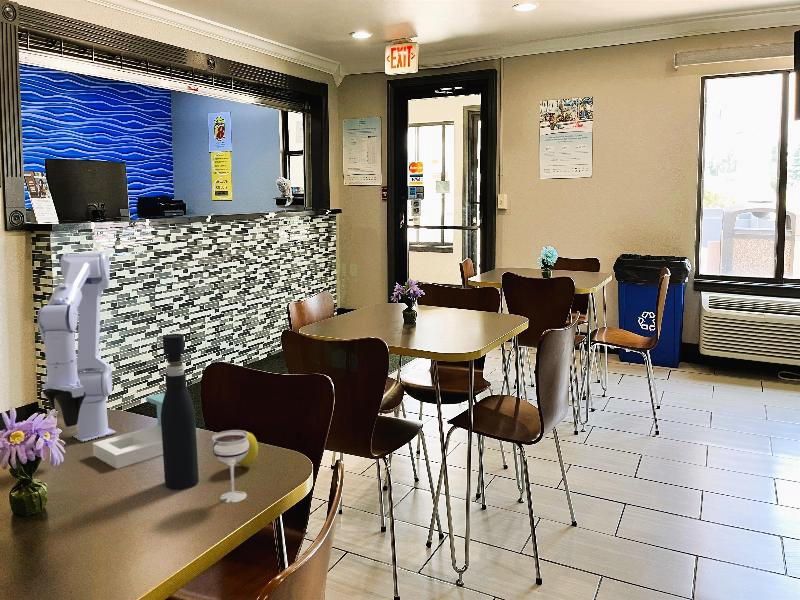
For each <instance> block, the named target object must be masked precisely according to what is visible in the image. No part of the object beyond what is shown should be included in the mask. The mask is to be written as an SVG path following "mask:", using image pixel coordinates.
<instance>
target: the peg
mask: <svg viewBox="0 0 800 600" xmlns="http://www.w3.org/2000/svg"><path fill="white" fill-rule="evenodd" d="M54 404H55V410H57V411H58V414H57V426H56V428H57V427H58V428H59V429H61V430H62V432H61V433H60V435H59V437H58V438H64V439H65V438H70V437H72V436H74V435H77V434H78V424H77V425H74V426H70V427H66V425H65V423H64V419H63V414H62V411H61V408H60V405H59V404H58V402H57V400H56V399H54Z"/></svg>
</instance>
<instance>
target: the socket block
mask: <svg viewBox="0 0 800 600" xmlns="http://www.w3.org/2000/svg"><path fill="white" fill-rule="evenodd" d="M164 395H165V393H163V392H161V393H156V394H152V395H147V396H145V402H148V403H151V404H153V405H156V417H157V425H153V426H149V427H148V426H147V427H146V428H141V429H138V430H134V431H131V432H128V433H127V432H126V433H123V434H119V435H117V436H114V437H109V438H106V439H103V440H98V441H95V442H92V453H93V455H92V456H93V457H94V456H96V457H97V459H98V458H99V460H100V461H102V462H104V463H105V462H106V463H105V464H107V465H109V466H110V467H113V468H115V469H116V470H118V469H121V468H124V467H127V466H130V465H133V464H136V463H137V464H138V463H140V462H144V461H146V460H149V459H153V458H156V457H158V456H163V445H162V429H161V409H162V402H163V399H164ZM96 457H95V458H96Z"/></svg>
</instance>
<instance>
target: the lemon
mask: <svg viewBox="0 0 800 600" xmlns="http://www.w3.org/2000/svg"><path fill="white" fill-rule="evenodd" d="M244 431H245V432H247V433H248V438H247V440H248V441H249V450H248V453H247V455H246V456H245V457H244V458H243V459H242V460H241V461H239V462H236V464H238V465H240V466H242V467H244V468H248V466H249V465H251V464H252V463H254V462H255V461H256V459H257V457H258V454H259V445H258V444H259V443H258V441H257V438H256V437H255V435H254V434H253V433H252V432H249V431H246V430H244Z"/></svg>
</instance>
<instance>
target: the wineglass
mask: <svg viewBox="0 0 800 600" xmlns="http://www.w3.org/2000/svg"><path fill="white" fill-rule="evenodd" d="M245 431H246V430H241V429H230V430H223V431H220V432H217V433H215V434H214V435H212V437H211V439H212V440H213V443H212V446H211V448H212V449H211V450H212V454H213V455H214V457H215V458H216V459H217V460H218V461H219V462H221V463H222V464H226V465H228V466H229V472H230V485H231V491H228V492H225V493H223V494H222V495H220V496H219V499H220V501H221V502H224V503H229V504H230V503H232V504H233V503H238V502H240V501H243V500H245V499H246V498H247V495H248V494H247V493H246V492H244V491H241V490H235V465H236V464H237V463H236V462H239V461H241V460H242V459H243V458H244V457H245V456H246V455H247V453H248V450H249V441H248V440H247V438H248V433H247V432H248V431H246V432H245Z"/></svg>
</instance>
